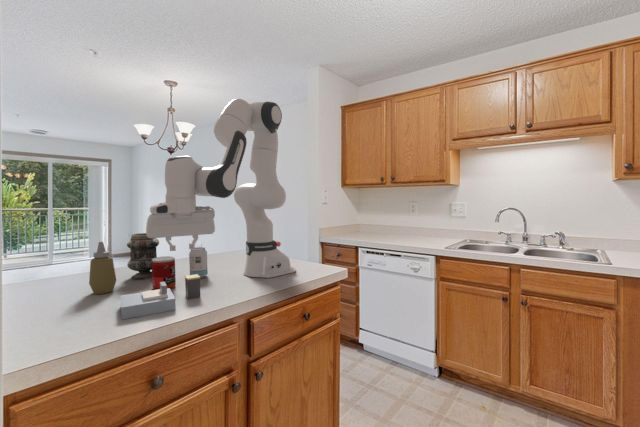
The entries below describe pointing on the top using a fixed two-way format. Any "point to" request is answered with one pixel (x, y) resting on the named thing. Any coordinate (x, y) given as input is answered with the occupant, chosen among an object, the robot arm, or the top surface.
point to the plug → (192, 286)
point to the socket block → (145, 305)
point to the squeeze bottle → (102, 271)
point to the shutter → (156, 293)
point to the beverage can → (198, 262)
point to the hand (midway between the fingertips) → (182, 249)
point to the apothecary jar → (142, 255)
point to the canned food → (163, 272)
